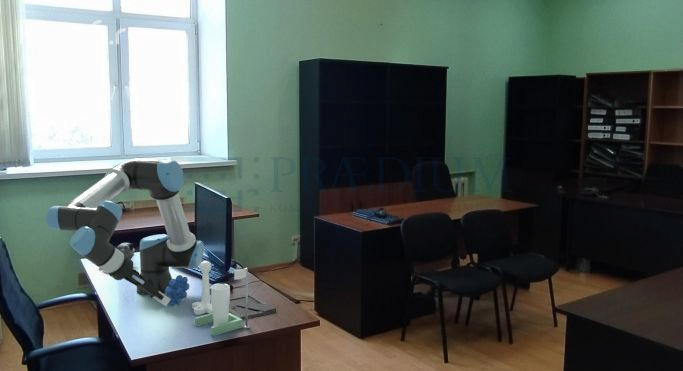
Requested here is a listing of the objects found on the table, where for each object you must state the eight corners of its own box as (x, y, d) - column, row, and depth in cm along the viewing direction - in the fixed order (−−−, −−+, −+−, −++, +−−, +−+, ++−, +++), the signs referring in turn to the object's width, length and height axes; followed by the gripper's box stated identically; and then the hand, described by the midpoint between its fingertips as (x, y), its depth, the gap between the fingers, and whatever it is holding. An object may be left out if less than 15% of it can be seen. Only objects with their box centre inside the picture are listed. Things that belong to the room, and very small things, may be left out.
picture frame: (275, 313, 225) (251, 297, 242) (276, 308, 225) (251, 292, 242) (238, 321, 216) (215, 304, 233) (238, 316, 216) (215, 299, 233)
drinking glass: (213, 322, 213) (213, 283, 211) (231, 323, 213) (231, 283, 211) (209, 329, 207) (208, 289, 204) (228, 330, 207) (228, 290, 204)
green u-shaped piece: (194, 325, 210) (194, 317, 210) (223, 317, 219) (223, 309, 218) (212, 336, 201) (212, 328, 201) (242, 327, 210) (242, 319, 209)
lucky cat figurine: (102, 264, 282) (114, 237, 285) (126, 272, 285) (138, 245, 288) (101, 263, 268) (113, 235, 271) (126, 272, 271) (138, 244, 274)
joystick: (220, 312, 223) (219, 262, 220) (205, 318, 217) (204, 266, 214) (200, 306, 230) (199, 257, 227) (185, 311, 223) (184, 261, 220)
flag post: (232, 330, 207) (232, 269, 204) (247, 325, 211) (247, 266, 208) (236, 332, 205) (236, 271, 202) (251, 327, 210) (251, 268, 206)
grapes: (182, 298, 237) (181, 270, 235) (193, 302, 233) (192, 273, 231) (158, 306, 228) (157, 277, 226) (168, 310, 224) (168, 280, 222)
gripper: (99, 268, 183) (151, 306, 197) (116, 279, 174) (169, 317, 188) (115, 249, 186) (165, 287, 200) (132, 258, 177) (183, 298, 191)
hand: (167, 302), depth 194 cm, fingers closed
